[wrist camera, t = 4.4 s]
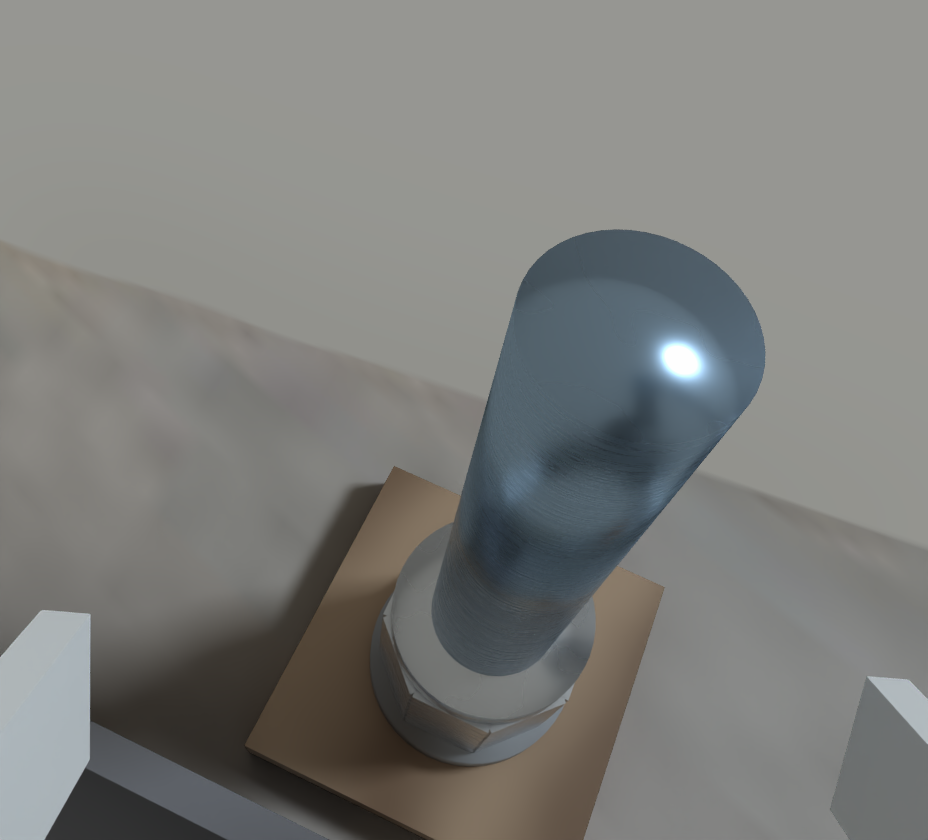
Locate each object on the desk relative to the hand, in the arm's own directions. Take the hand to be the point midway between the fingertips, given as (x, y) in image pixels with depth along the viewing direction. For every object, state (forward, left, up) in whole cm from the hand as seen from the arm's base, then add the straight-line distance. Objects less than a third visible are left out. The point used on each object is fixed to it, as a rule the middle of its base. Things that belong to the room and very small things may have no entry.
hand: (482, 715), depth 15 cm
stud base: (0, -5, -16) cm, 17 cm away
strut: (0, -5, -14) cm, 14 cm away
